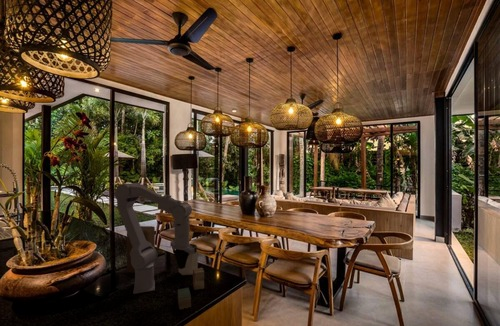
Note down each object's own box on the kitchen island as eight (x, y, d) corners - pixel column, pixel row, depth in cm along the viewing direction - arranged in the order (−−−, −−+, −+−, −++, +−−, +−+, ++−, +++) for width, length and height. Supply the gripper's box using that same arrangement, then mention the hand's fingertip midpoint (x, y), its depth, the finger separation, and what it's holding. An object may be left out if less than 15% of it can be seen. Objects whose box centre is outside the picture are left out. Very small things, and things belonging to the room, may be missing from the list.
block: (146, 273, 118) (147, 231, 118) (125, 273, 118) (125, 230, 118) (155, 265, 128) (155, 225, 128) (135, 265, 128) (136, 225, 128)
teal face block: (177, 289, 96) (179, 298, 89) (188, 287, 97) (190, 296, 91) (177, 299, 96) (179, 309, 89) (188, 297, 97) (190, 307, 91)
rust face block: (192, 285, 107) (192, 269, 107) (202, 284, 108) (202, 267, 108) (194, 290, 103) (194, 272, 103) (204, 288, 104) (204, 271, 104)
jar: (177, 275, 116) (177, 249, 116) (179, 268, 124) (179, 244, 124) (197, 274, 117) (197, 248, 117) (198, 267, 125) (198, 243, 125)
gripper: (163, 232, 103) (163, 265, 103) (183, 239, 93) (183, 276, 93) (178, 229, 108) (178, 261, 108) (199, 235, 98) (199, 270, 98)
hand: (181, 268), depth 101 cm, fingers closed
